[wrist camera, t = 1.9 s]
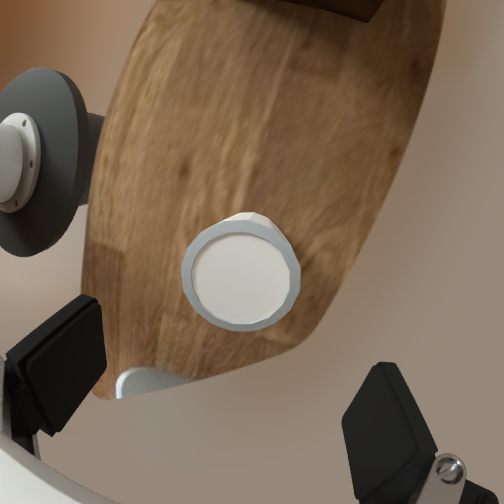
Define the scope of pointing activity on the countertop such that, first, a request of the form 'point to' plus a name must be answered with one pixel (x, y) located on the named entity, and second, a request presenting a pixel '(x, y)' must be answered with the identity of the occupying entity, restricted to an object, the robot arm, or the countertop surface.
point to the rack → (345, 7)
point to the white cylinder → (241, 273)
